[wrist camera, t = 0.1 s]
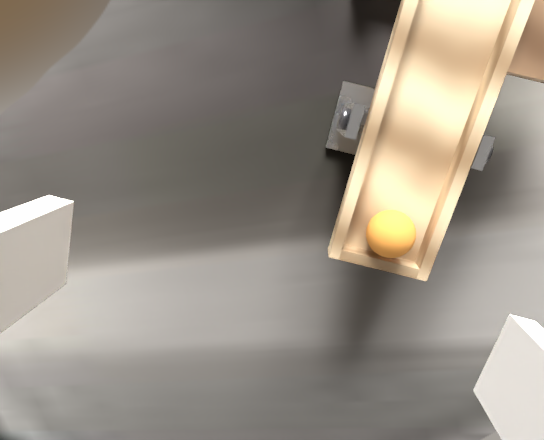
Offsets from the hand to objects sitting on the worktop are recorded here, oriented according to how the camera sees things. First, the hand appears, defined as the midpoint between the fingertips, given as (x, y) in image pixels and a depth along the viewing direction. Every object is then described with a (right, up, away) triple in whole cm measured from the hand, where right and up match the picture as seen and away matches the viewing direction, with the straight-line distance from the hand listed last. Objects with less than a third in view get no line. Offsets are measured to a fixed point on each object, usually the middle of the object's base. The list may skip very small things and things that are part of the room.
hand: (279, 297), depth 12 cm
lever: (+13, +8, +18) cm, 24 cm away
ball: (+8, +1, +17) cm, 19 cm away
